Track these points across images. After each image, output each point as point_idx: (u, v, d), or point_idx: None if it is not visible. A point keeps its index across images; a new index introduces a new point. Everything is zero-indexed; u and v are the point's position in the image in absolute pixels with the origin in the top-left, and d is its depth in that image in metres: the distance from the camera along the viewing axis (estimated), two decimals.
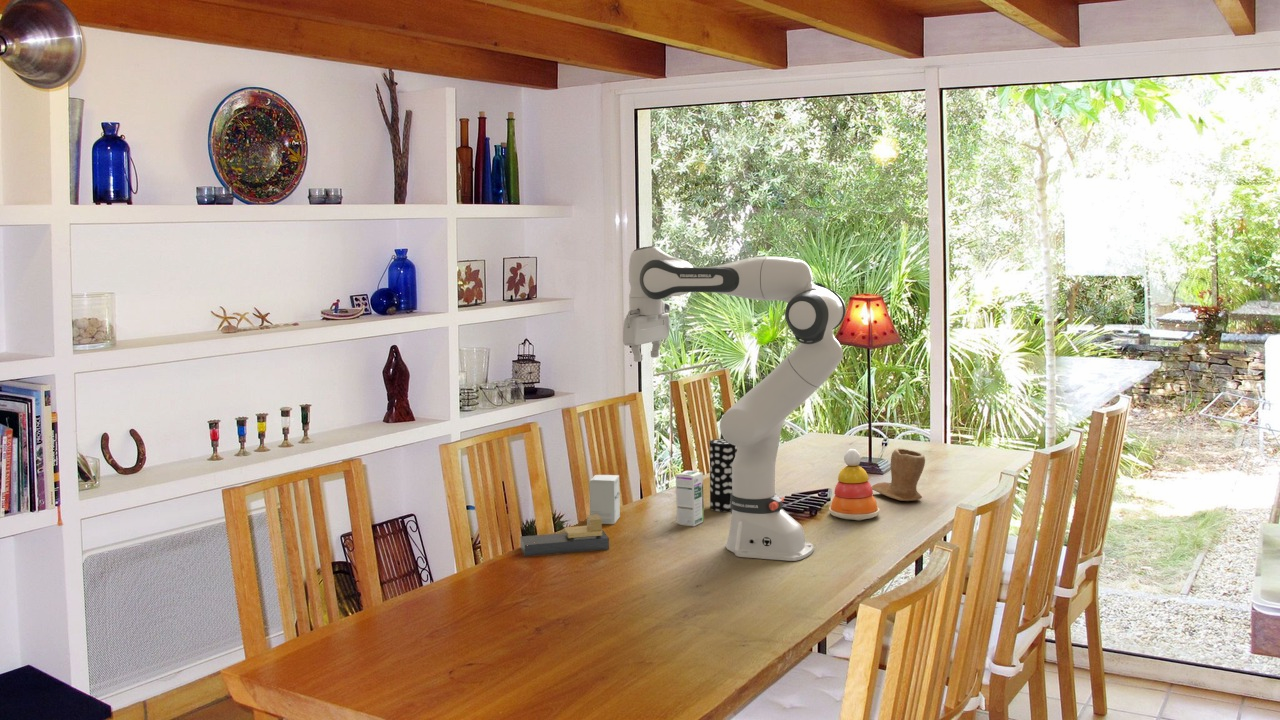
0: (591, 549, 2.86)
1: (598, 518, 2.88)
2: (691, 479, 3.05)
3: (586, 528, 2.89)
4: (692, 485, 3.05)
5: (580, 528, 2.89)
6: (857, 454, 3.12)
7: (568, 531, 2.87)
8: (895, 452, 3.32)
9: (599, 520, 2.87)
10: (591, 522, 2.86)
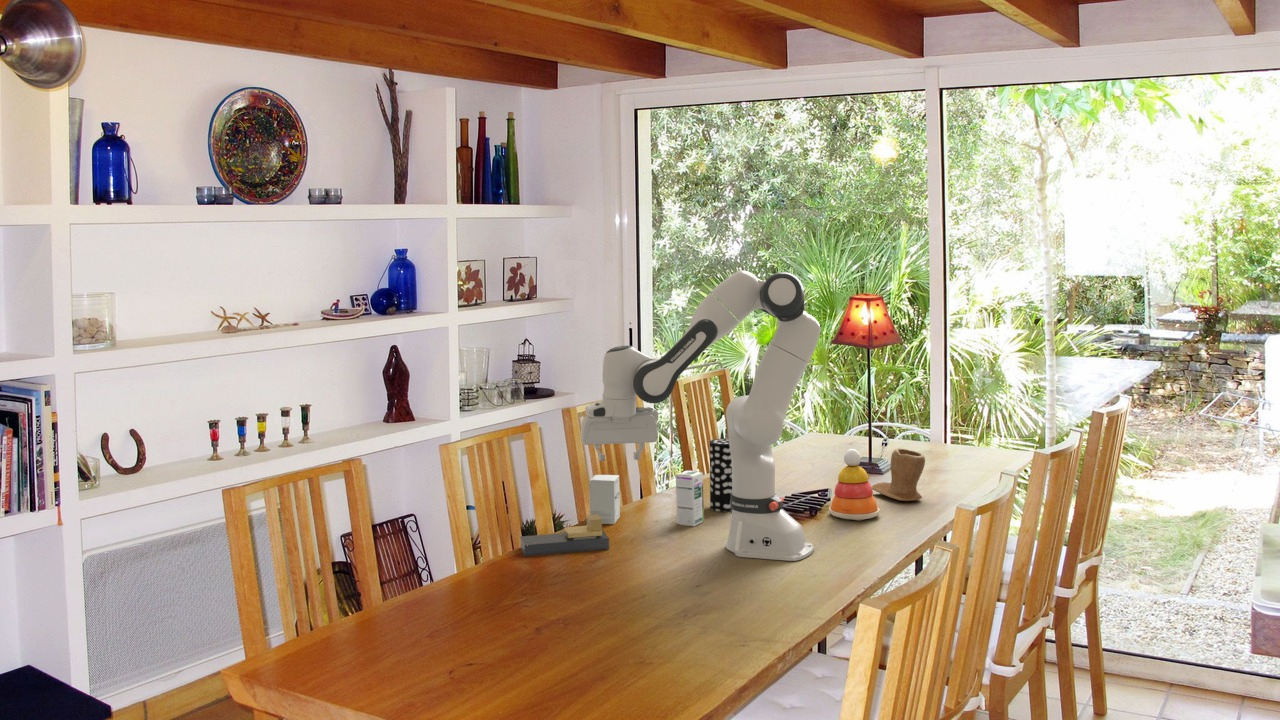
0: (591, 549, 2.86)
1: (598, 518, 2.88)
2: (691, 479, 3.05)
3: (586, 528, 2.89)
4: (692, 485, 3.05)
5: (580, 528, 2.89)
6: (857, 454, 3.12)
7: (568, 531, 2.87)
8: (895, 452, 3.32)
9: (599, 520, 2.87)
10: (591, 522, 2.86)
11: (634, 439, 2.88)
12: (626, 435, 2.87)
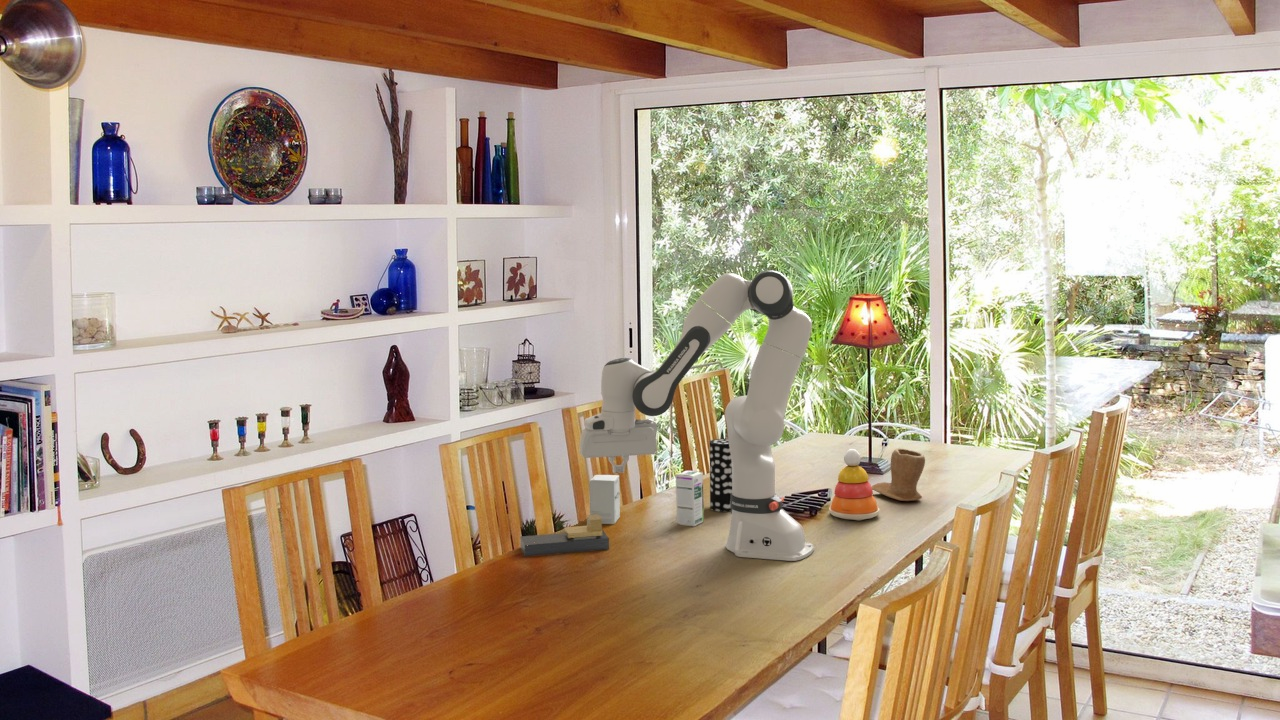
0: (591, 549, 2.86)
1: (598, 518, 2.88)
2: (691, 479, 3.05)
3: (586, 528, 2.89)
4: (692, 485, 3.05)
5: (580, 528, 2.89)
6: (857, 454, 3.12)
7: (568, 531, 2.87)
8: (895, 452, 3.32)
9: (599, 520, 2.87)
10: (591, 522, 2.86)
11: (633, 451, 2.87)
12: (625, 447, 2.87)
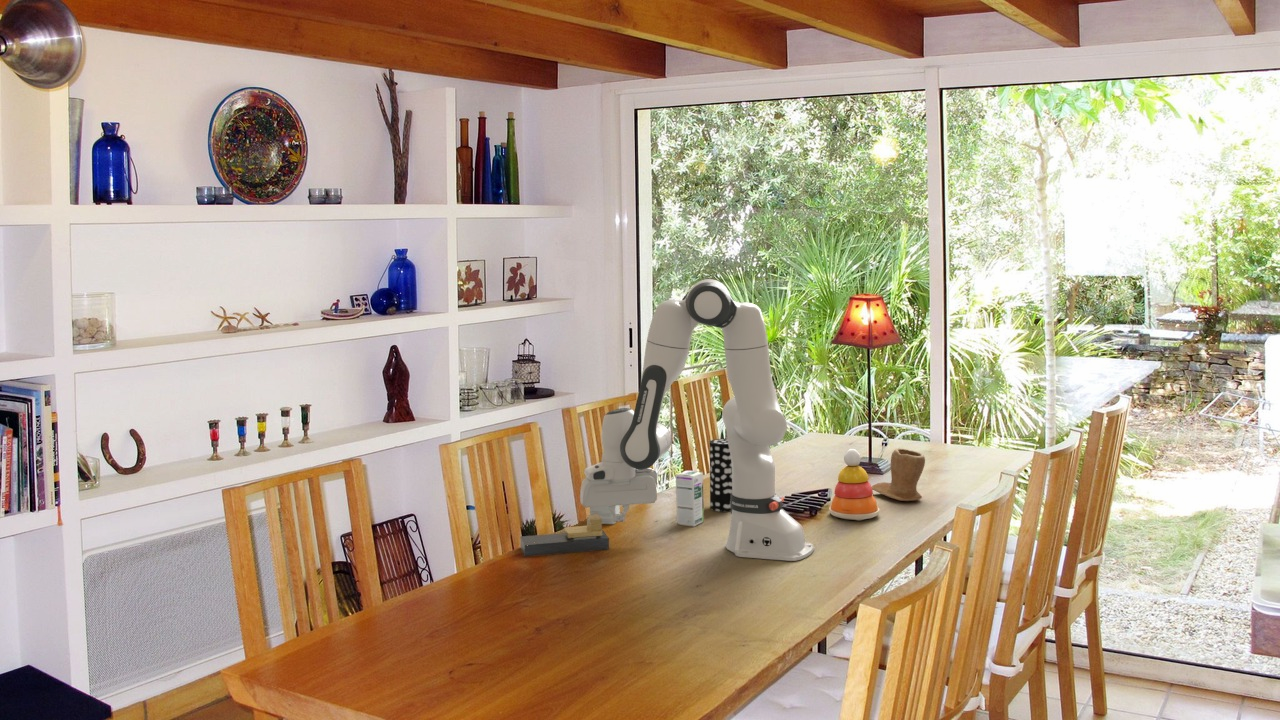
0: (591, 549, 2.86)
1: (598, 518, 2.88)
2: (691, 479, 3.05)
3: (586, 528, 2.89)
4: (692, 485, 3.05)
5: (580, 528, 2.89)
6: (857, 454, 3.12)
7: (568, 531, 2.87)
8: (895, 452, 3.32)
9: (599, 520, 2.87)
10: (591, 522, 2.86)
11: (634, 500, 2.89)
12: (626, 496, 2.88)
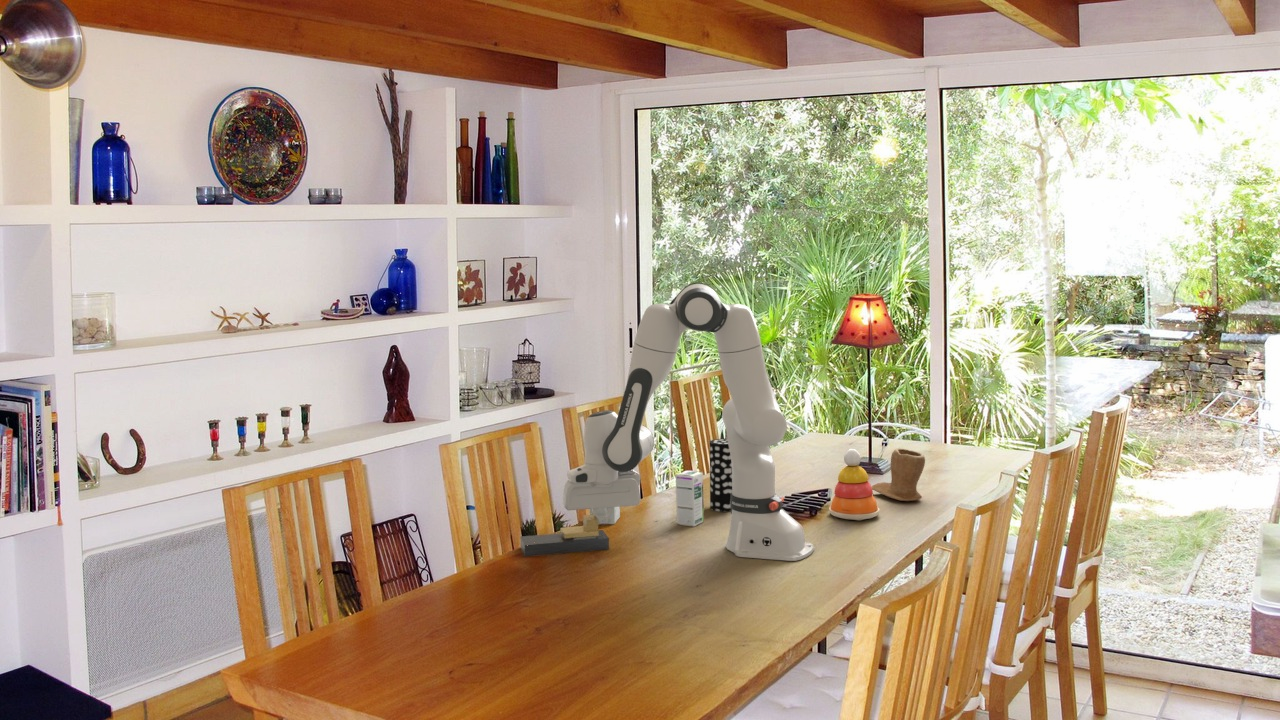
0: (591, 549, 2.86)
1: (594, 518, 2.87)
2: (691, 479, 3.05)
3: (582, 528, 2.89)
4: (692, 485, 3.05)
5: (576, 529, 2.89)
6: (857, 454, 3.12)
7: (564, 531, 2.86)
8: (895, 452, 3.32)
9: (595, 520, 2.87)
10: (587, 522, 2.86)
11: (617, 503, 2.88)
12: (609, 499, 2.87)
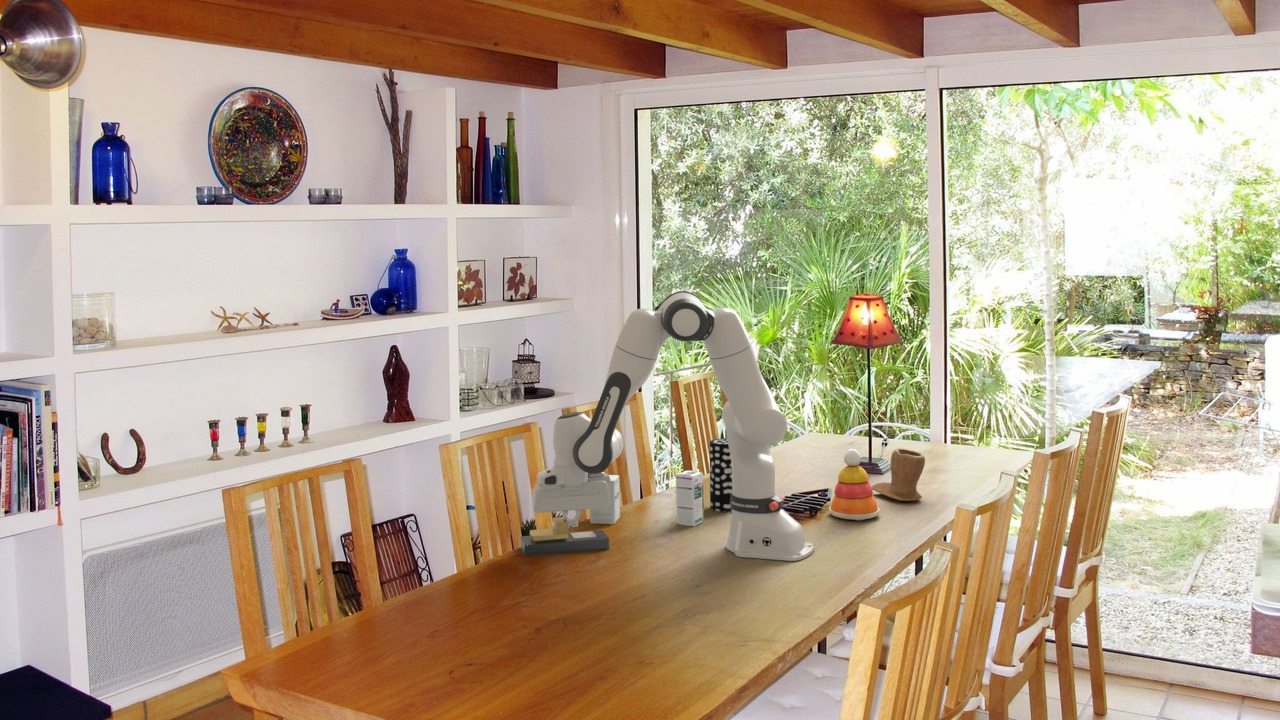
0: (591, 549, 2.86)
1: (564, 521, 2.85)
2: (691, 479, 3.05)
3: (551, 531, 2.87)
4: (692, 485, 3.05)
5: (546, 531, 2.87)
6: (857, 454, 3.12)
7: (533, 534, 2.84)
8: (895, 452, 3.32)
9: (564, 523, 2.85)
10: (556, 525, 2.84)
11: (586, 505, 2.86)
12: (578, 501, 2.86)
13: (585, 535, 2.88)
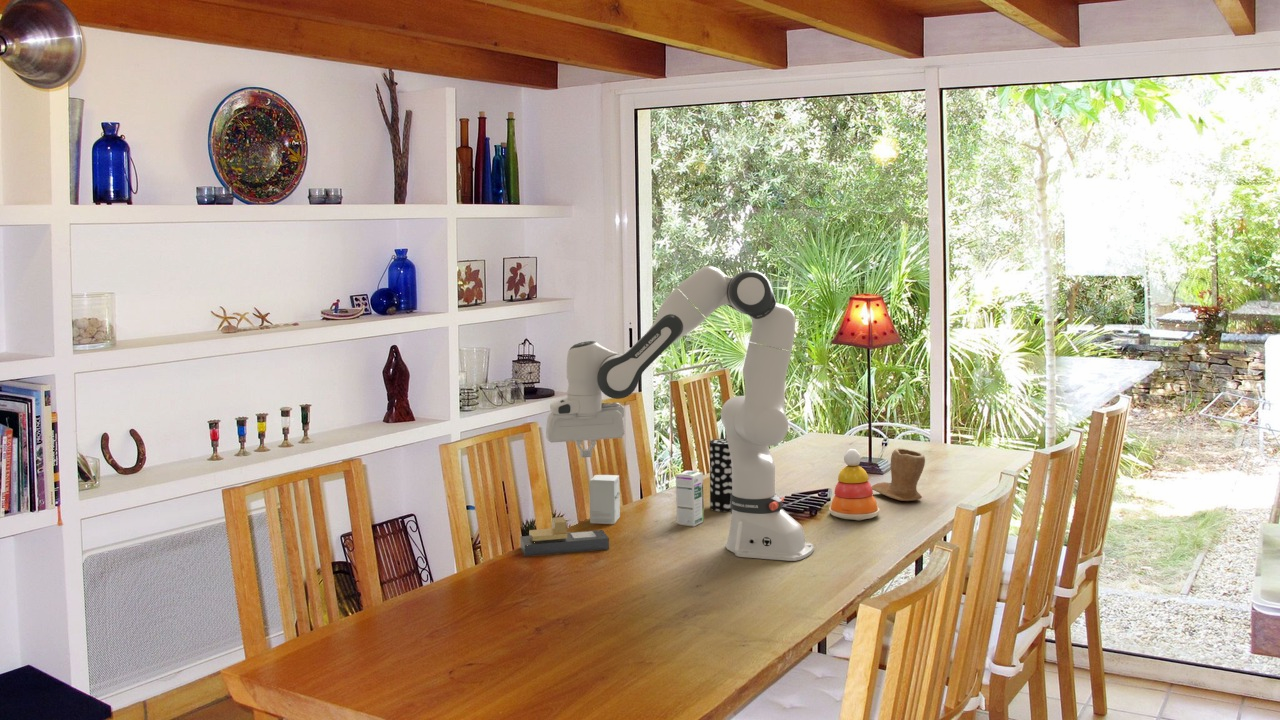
0: (591, 549, 2.86)
1: (563, 521, 2.85)
2: (691, 479, 3.05)
3: (551, 531, 2.87)
4: (692, 485, 3.05)
5: (545, 531, 2.87)
6: (857, 454, 3.12)
7: (533, 534, 2.84)
8: (895, 452, 3.32)
9: (564, 523, 2.85)
10: (556, 525, 2.84)
11: (600, 435, 2.85)
12: (592, 431, 2.84)
13: (585, 535, 2.88)
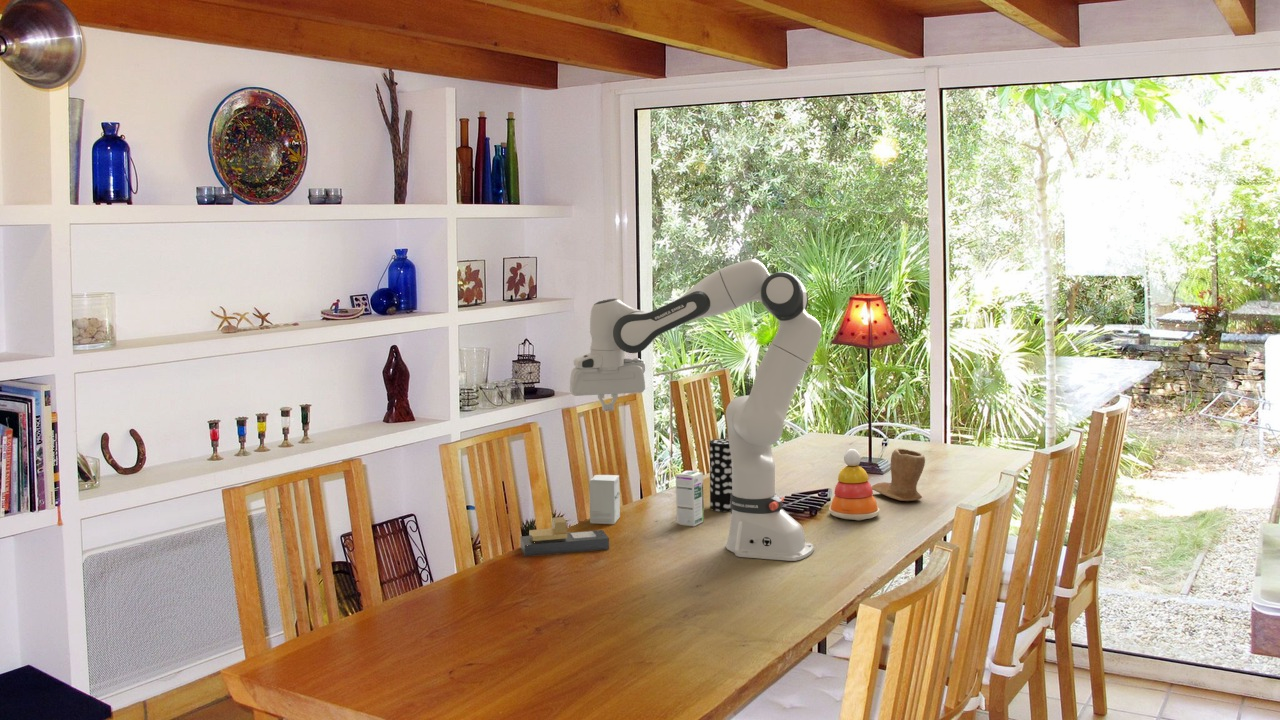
0: (591, 549, 2.86)
1: (563, 521, 2.85)
2: (691, 479, 3.05)
3: (551, 531, 2.87)
4: (691, 485, 3.05)
5: (545, 531, 2.87)
6: (857, 454, 3.12)
7: (533, 534, 2.84)
8: (895, 452, 3.32)
9: (564, 523, 2.85)
10: (556, 525, 2.84)
11: (622, 389, 2.95)
12: (614, 385, 2.94)
13: (585, 535, 2.88)
